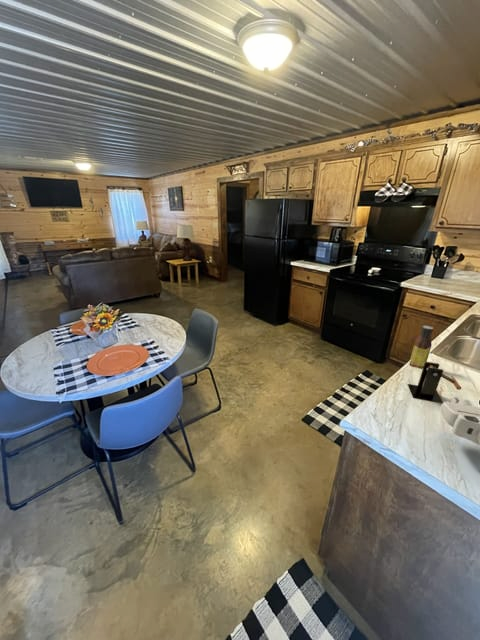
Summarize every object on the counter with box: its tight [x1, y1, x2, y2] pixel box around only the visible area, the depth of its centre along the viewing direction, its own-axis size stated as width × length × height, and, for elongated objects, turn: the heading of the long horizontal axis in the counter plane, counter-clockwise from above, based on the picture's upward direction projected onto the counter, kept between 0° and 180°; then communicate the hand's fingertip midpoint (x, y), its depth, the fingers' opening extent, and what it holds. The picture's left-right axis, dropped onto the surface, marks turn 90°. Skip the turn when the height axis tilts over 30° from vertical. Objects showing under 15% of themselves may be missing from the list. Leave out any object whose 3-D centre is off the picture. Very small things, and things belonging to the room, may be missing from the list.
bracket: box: [407, 361, 444, 404], centre depth 100 cm, size 10×9×14 cm
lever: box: [426, 365, 462, 391], centre depth 98 cm, size 11×7×2 cm, turn 72°
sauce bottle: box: [409, 325, 434, 369], centre depth 118 cm, size 6×6×20 cm
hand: (470, 401), depth 87 cm, fingers open, 8 cm apart
